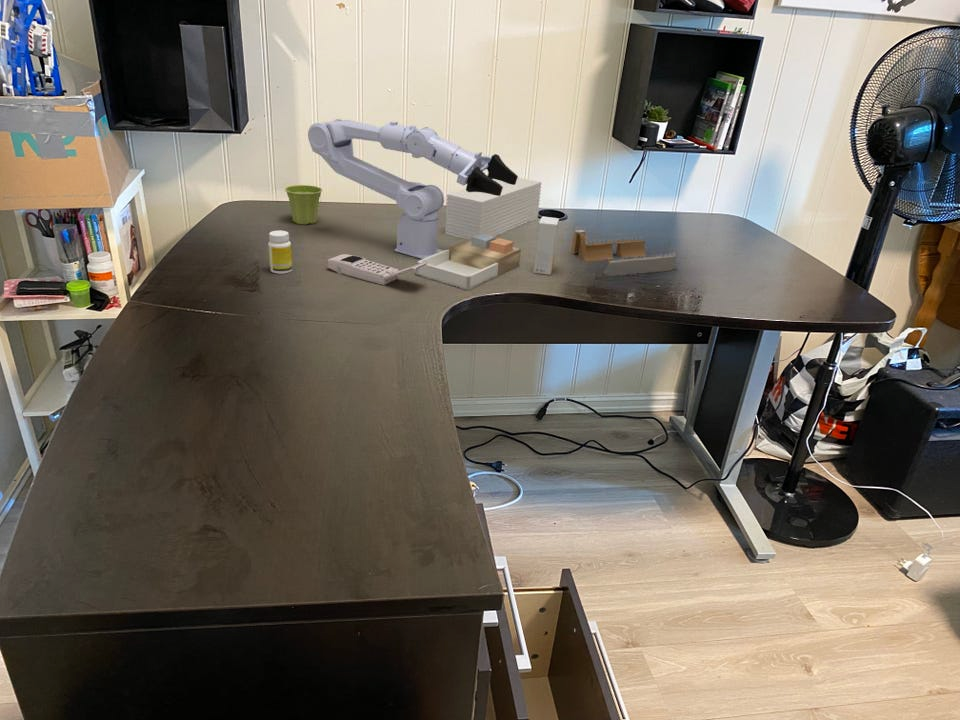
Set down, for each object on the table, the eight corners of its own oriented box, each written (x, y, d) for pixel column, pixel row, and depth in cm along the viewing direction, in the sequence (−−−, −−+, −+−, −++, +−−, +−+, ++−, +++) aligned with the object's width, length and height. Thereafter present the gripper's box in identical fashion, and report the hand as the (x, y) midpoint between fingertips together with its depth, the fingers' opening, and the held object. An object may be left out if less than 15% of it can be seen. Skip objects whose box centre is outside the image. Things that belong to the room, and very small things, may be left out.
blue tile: (471, 245, 166) (471, 237, 165) (480, 241, 169) (481, 233, 168) (485, 249, 164) (486, 240, 163) (494, 245, 167) (495, 237, 166)
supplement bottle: (296, 271, 154) (294, 233, 150) (278, 275, 151) (275, 237, 147) (284, 265, 157) (282, 228, 153) (265, 269, 154) (262, 232, 150)
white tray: (415, 274, 157) (416, 261, 156) (446, 261, 166) (447, 249, 165) (468, 290, 151) (468, 277, 149) (497, 275, 160) (498, 263, 158)
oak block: (450, 262, 166) (451, 246, 164) (473, 252, 173) (474, 237, 172) (497, 275, 160) (498, 259, 158) (519, 265, 167) (520, 248, 166)
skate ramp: (600, 288, 159) (605, 256, 156) (528, 241, 187) (531, 213, 184) (702, 277, 171) (709, 247, 167) (620, 234, 199) (624, 208, 195)
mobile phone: (414, 268, 144) (317, 243, 154) (413, 295, 147) (318, 268, 157) (429, 261, 149) (335, 237, 159) (428, 287, 152) (335, 262, 161)
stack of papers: (506, 211, 211) (509, 175, 206) (537, 219, 206) (541, 182, 201) (445, 234, 186) (446, 194, 181) (479, 243, 181) (481, 202, 176)
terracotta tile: (489, 250, 163) (489, 241, 162) (498, 246, 166) (498, 237, 166) (504, 254, 162) (504, 245, 161) (512, 249, 165) (513, 241, 164)
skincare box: (551, 275, 163) (557, 224, 157) (532, 273, 163) (538, 222, 158) (553, 267, 168) (559, 217, 162) (536, 265, 169) (541, 215, 163)
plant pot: (294, 215, 192) (292, 183, 188) (328, 218, 191) (327, 186, 187) (281, 224, 184) (279, 191, 180) (316, 228, 183) (315, 194, 179)
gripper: (444, 152, 149) (499, 179, 147) (475, 134, 160) (527, 159, 157) (437, 181, 154) (490, 209, 151) (468, 162, 165) (518, 187, 162)
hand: (508, 185), depth 155 cm, fingers open, 7 cm apart
